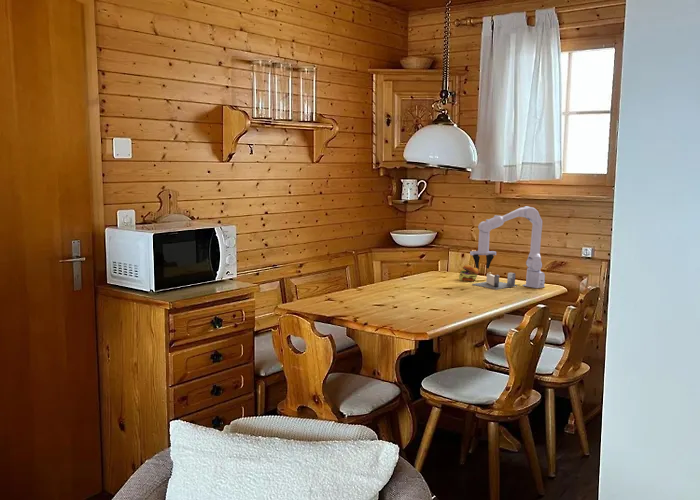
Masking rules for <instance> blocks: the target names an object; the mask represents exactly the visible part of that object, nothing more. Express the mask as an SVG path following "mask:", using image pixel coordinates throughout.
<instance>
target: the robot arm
mask: <svg viewBox="0 0 700 500" xmlns="http://www.w3.org/2000/svg"><path fill="white" fill-rule="evenodd" d="M518 217H519V218H520V217H521V218H525V219H526V220H528V221H529V222H530V223H531V226H532V227H531V236H530V237H531V238H530V247H529V249H530V250H529V253H528V256H527V259H526V261H525V265H526V267H527V268H526V277H525V279H526V280H525V284H522V286H523V287H528V288H533V289H540V288H541V289H542V288H545V287H546V286H545V283H546V281H545V280H546V278H545V277H546V275H545V272H543V271H541V269H542V268H543V263H542V256H541V243H542V231H543V224H544V223H543V219H542V218H541V215H540V213H539V211H538V209H536V208H535V207H533V206H529V205H526V206H523V207H519V208H516V209H515V210H512V211H510V212H509V213H508V212H507V213H506V214H504V215H499V214H498V215H497V214H495V215H493V217H491V218H489V219H488V218H486V219H485V221H483V220H482V221H481V222H479V223H478V225H477V228H478V230H479V231H478V244H477V245H478V246H477V247H478V248H477V250H470V252H469V255H470V256H472V259H473V261H474V264H475V268H477V269H478V270H479V266H480V258H481V257H480V256H486V260H485V261H486V264H485V265H486V269H490V265H491V262H492V261H493V259H494V257H495V256H497V251H494V250H491V251H490V232H491V231H492V230H494V229H497V228H499V227H502V226H503V225H504V224H505V222H508V221H509V220H512V219H515V218H518Z"/></svg>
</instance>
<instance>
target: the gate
mask: <svg viewBox="0 0 700 500" xmlns="http://www.w3.org/2000/svg"><path fill="white" fill-rule="evenodd" d="M495 275H496V274H492V272H491V271H489V272H487V273H486V280H485V282H486V283H488V284H490V285H493V286H494V280H495Z"/></svg>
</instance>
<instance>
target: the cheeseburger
mask: <svg viewBox="0 0 700 500" xmlns="http://www.w3.org/2000/svg"><path fill="white" fill-rule="evenodd" d="M462 269H463V270H460V272H459V275H458V279H459V281H460V282H462V281H466V282H467V281H468V282H474V281H476V279H477V277H478V275H479V271H480V270H479V268H478V269H477V268H476V267H472V266H471V265H470V264H468V263H467V264H465V265H463V267H462Z"/></svg>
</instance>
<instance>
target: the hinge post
mask: <svg viewBox="0 0 700 500" xmlns="http://www.w3.org/2000/svg"><path fill="white" fill-rule="evenodd" d="M494 275H495V280H494V287H499V282H500V275H499V274H494Z"/></svg>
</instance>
